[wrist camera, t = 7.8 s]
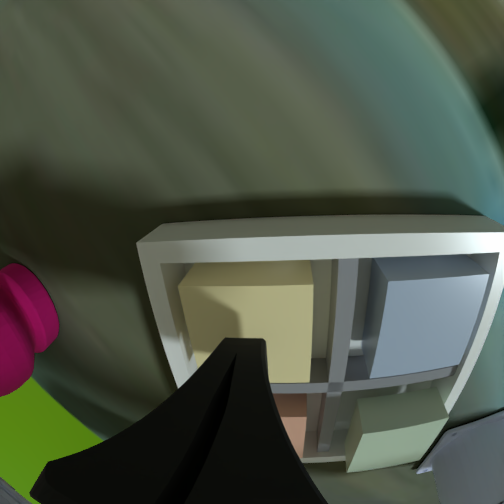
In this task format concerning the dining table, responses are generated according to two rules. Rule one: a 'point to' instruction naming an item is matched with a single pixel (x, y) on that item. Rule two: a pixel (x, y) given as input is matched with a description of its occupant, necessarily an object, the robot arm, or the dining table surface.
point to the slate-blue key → (420, 312)
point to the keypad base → (325, 298)
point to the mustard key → (253, 311)
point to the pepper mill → (23, 325)
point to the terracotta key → (293, 417)
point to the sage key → (393, 429)
